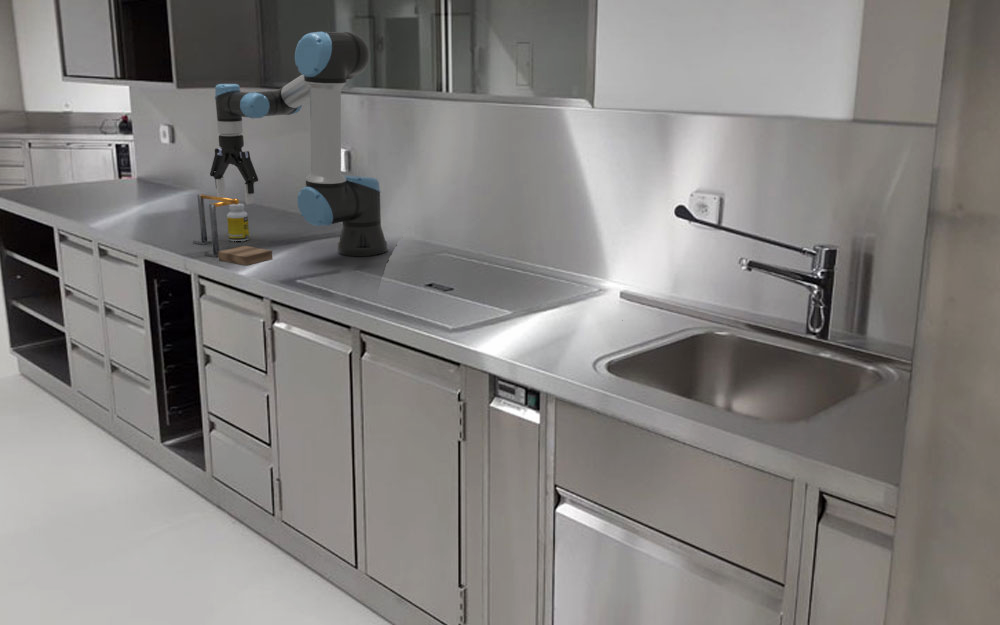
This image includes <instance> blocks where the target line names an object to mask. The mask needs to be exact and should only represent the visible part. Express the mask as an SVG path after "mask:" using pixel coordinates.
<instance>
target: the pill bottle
mask: <svg viewBox="0 0 1000 625" xmlns="http://www.w3.org/2000/svg"><path fill="white" fill-rule="evenodd" d="M228 209H229V210H230V211H228V213H227V214H226V220H227V221H226V222H227V232H228V240H229V241H231V242H234V241H235V242H236V241H241V242H247V241H248V240H249V239H250V231H249V230H250V229H249V228H250V227H249V216H248V213H247V212H246V211H245V210H244V209H245V204H244V203H239V204H231V205H228ZM246 240H247V241H246Z"/></svg>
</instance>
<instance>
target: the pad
mask: <svg viewBox="0 0 1000 625" xmlns="http://www.w3.org/2000/svg"><path fill="white" fill-rule="evenodd" d="M218 256H219V257H218V260H219V261H221V262H222V261H223V262H228V263H233V264H237V265H242V266H249V265H253V264H258V263H262V262H266V261H269V260H273V250H270V249H266V248H259V247H254V246H248V245H242V246H237V247H233V248H228V249H224V250H222V251H219V252H218Z"/></svg>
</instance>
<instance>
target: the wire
mask: <svg viewBox="0 0 1000 625" xmlns="http://www.w3.org/2000/svg"><path fill="white" fill-rule="evenodd" d="M196 196H197V205H198V217H199V218H198V219H199V229H200V238H198V239H194V240H192V244H195V245H201V246H204V245H209V244H212V250H210V251H206V252H204V253H203V254H204V256H206V257H211V258H219V256H218V252H219V251H223V250H221V249H220V242H219V229H218V222H217V221H218V220H217V211H216V210H217V209H216V208H220V207H223V206H224V207H225V206H229V205H231V204H240V200H239V198H229V197H226V198H223V197H217V195H216V196H215V195H207V194H202V193H201V194H200V193H198V194H197V195H196ZM205 200H210V201H211V200H212V201H216V202H214V203H209V204H208V208H209V220H210V221H209V222H210V230H211V232H210V233H211V238H208V235H207V234H208V232H207V221H206V210H205Z"/></svg>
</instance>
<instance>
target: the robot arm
mask: <svg viewBox="0 0 1000 625" xmlns="http://www.w3.org/2000/svg"><path fill="white" fill-rule="evenodd" d="M370 59H371V54H370V49H369V46H368V43H367V42H366V40H365V39H364V38H363V37H361V36H360V35H358V34H357V33H355V32H351V31H346V32H345V31H343V32H338V31H337V32H336V31H332V32H331V31H316V32H315V31H314V32H309V33H306V34H305V35H303V36H302V38H301V39H300V40H298V42H297V45H296V48H295V52H294V61H295V62H294V64H295V66H296V67H297V71H298V72H299V73H300V75H299V76H298V77H296V78H294V79H293V80H291V81H290V82H289V83H287V84H285V85H284V86H283V87H280V88H279V89H277V90H266V91H249V92H248V91H241V87H240V85H239V84H238V83H219V84H216V85H215V91H214V94H215V96H214V100H215V107H216V108H215V109H216V119H217V122H216V124H217V134H219V136H218V145H219V147H218V148H214V157H213V161H212V165H211V169H210V172H209V176H210V177H213V179H214V182H215V189H216V197H223V198H227V196H226V187H225V186H226V184H225V177H224V174H225V172H226V171H227V168H228V167H229V165H232V166H235V167H236V168H237V169H238V171H239V173H240V174H241V177H242V178H243V180H244V198H245V205H253V204H255V200H254V198H255V197H254V194H255V183H256V182H259V178H258V175H257V173H256V170H255V167H254V164H253V161H252V160H251V155H250V151H249V150H247V151H243V150H242V148H243V147H244V144H245V143H244V135H243V133H244V131H243V130H244V128H243V118H249V119H253V120H254V119H262V118H264V117H271V116H274V117H275V116H290V115H293V114H295V115H296V114H297V113H299V112H300V111H301V109H302V107H303V105H304V104H306V103H307V102H309V105H310V106H309V114H310V115H309V117H310V118H309V119H310V120H309V121H310V123H309V126H310V127H309V128H310V130H309V131H310V173H309V174H308V175H307V176H306V177H305V186H304V187H303V188H301V189H300V191H299V192H298V194H297V201H296V202H297V207H298V210H299V212H300V214H301V216H302V217H303V219H304V220H305V222H307V223H308V224H309V225H311V226H313V227H327V226H331V225H335V224H338V223H342V229H341V233H340V237H339V242H338V243H337V253H339V254H340V255H343V256H349V257H350V256H351V257H371V255H372V256H378V255H377V254H379V255H382V254H384V252H385V253H386V251H387V252H388V242H387V240H386V238H385V235H384V231H383V228H382V221H381V220H382V219H381V218H382V217H381V214H382V213H381V190H380V182H379V180H378V179H377V178H375V177H371V176H359V175H344V174H342V88H343V87H344V86H345V85H347V81H348V80H352V79H353V78H355V77H357V76H358V75H360V74H361V73H363V72H364V71H365V70H366V69H367V67H368V65H369V63H370ZM381 253H382V254H381Z"/></svg>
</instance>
